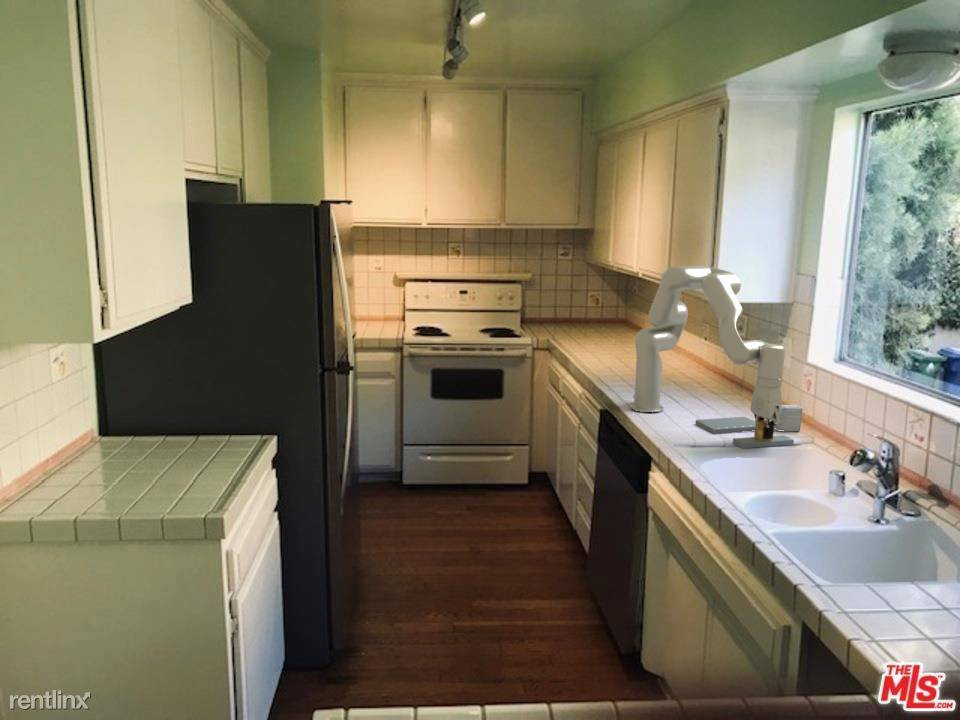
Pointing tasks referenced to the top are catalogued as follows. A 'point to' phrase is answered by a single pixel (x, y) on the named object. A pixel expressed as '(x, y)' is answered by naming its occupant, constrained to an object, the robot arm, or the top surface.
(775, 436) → the grey-blue slab
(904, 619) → the top surface
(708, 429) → the board
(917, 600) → the top surface
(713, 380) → the top surface
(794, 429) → the medicine box
